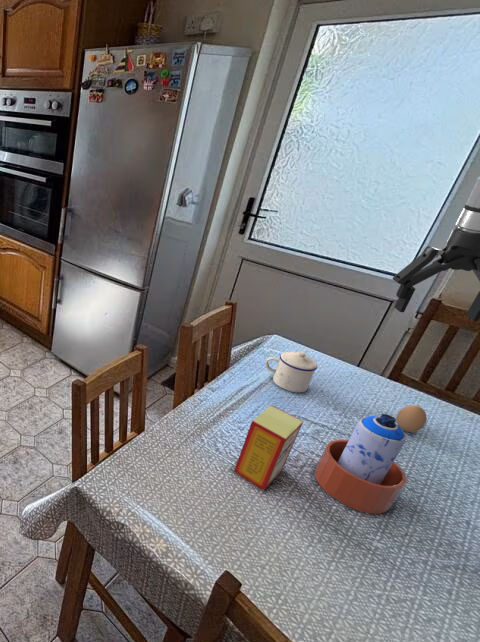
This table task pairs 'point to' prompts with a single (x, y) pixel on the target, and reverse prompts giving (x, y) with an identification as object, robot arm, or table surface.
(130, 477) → the table surface
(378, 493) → the terracotta bowl
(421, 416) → the egg
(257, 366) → the table surface
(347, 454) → the aerosol can
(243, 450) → the baking soda box
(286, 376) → the teacup with lid
